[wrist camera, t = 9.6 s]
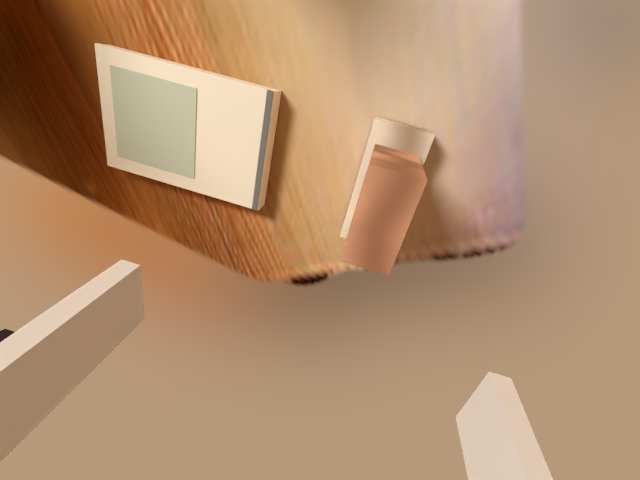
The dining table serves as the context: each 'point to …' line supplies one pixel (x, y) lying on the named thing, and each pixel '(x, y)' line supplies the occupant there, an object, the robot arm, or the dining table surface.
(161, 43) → the dining table surface
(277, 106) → the white flat block
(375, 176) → the stub
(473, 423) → the robot arm
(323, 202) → the dining table surface
